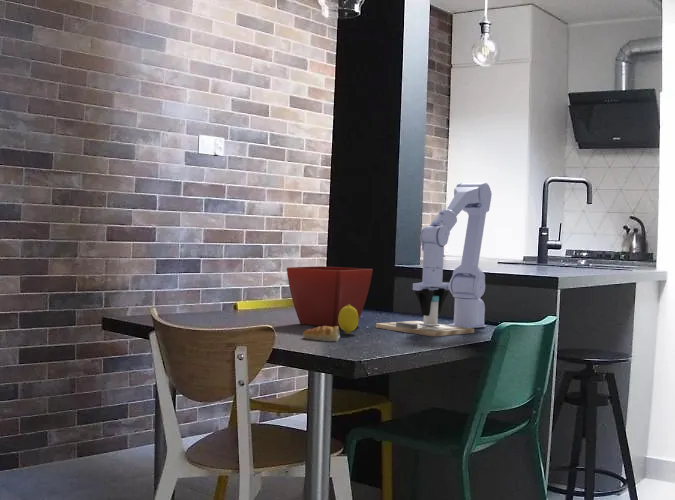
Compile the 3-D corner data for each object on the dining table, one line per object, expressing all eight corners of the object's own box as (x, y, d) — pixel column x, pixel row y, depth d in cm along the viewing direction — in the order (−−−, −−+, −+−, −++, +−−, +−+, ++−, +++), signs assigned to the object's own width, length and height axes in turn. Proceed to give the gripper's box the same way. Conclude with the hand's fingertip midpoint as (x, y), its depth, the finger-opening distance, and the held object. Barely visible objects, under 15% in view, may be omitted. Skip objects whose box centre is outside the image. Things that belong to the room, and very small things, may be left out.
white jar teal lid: (429, 322, 236) (430, 294, 236) (440, 324, 233) (442, 296, 233) (420, 323, 233) (421, 295, 233) (431, 324, 230) (432, 296, 230)
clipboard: (416, 324, 250) (417, 316, 250) (474, 332, 234) (474, 324, 234) (375, 327, 238) (376, 319, 238) (433, 336, 222) (433, 327, 222)
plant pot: (282, 324, 239) (284, 266, 238) (319, 319, 255) (321, 265, 254) (337, 330, 228) (339, 270, 228) (372, 325, 244) (374, 269, 244)
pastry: (301, 340, 205) (301, 325, 205) (304, 337, 212) (305, 323, 212) (338, 342, 204) (339, 327, 204) (340, 339, 211) (341, 324, 211)
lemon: (356, 335, 217) (357, 305, 217) (335, 334, 218) (336, 304, 218) (359, 333, 223) (360, 304, 223) (339, 332, 224) (340, 303, 224)
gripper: (438, 266, 241) (436, 312, 241) (405, 267, 231) (403, 314, 231) (457, 268, 236) (455, 315, 236) (424, 268, 226) (422, 317, 226)
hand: (430, 315), depth 233 cm, fingers closed on white jar teal lid, 4 cm apart
